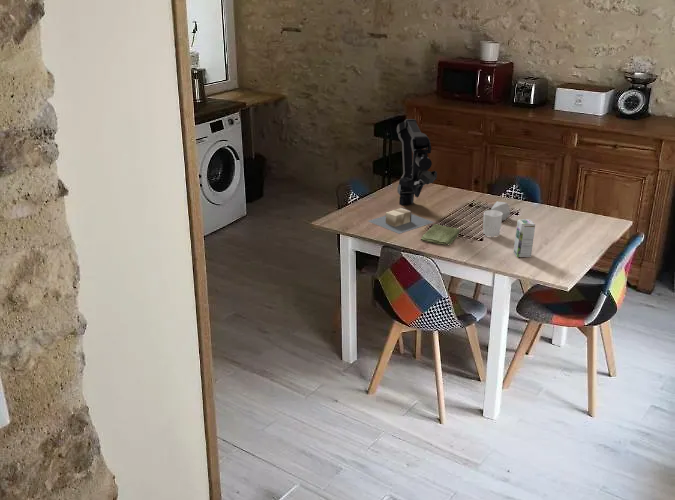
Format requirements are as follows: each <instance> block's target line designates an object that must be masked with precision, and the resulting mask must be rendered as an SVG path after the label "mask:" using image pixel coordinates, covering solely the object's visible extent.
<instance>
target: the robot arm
mask: <svg viewBox="0 0 675 500" xmlns="http://www.w3.org/2000/svg"><path fill="white" fill-rule="evenodd" d="M417 123H418V122H417V119H416V118H415V119H414V118H406V119H404V121H402V122H399V123H398V124H397V126H396V134H397V136H398V140H400V142H401V151H402V153H401V154H402V176H401V177H400V178H399V179H398V185H397V189H396V190H397V193H398V195H399V205H401V206H412V205H413V204H414V200H415V199H414V198H419V197H420V194H421V192H422V190H423V187H424V186H426V185H429V184H433V183H434V181H436V180H437V179H438V172H437V171H436V170H433V171H429V169H431V167H432V166H433V162H432V160H431V159H430V158H429V154H431V153H432V145H431V140H430V138H429V137H428V136H427V134H426V133H423V132H422V131H421V130H420V127H419V125H418V124H417Z"/></svg>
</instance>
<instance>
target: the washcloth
mask: <svg viewBox="0 0 675 500" xmlns="http://www.w3.org/2000/svg"><path fill="white" fill-rule="evenodd" d="M459 233H460V228H456V227H451V226H444V225H442V224H437V223H433V225H432V226H431V227H430V228H429V229H428V230H427V231H426V232H425V233H424V234H423V235H422V236H421V238H420V241H422V242H425V241H428V242H427V243H432V242H433V243H432V244H439V245H444V244H445V245H446V244H449V245H448V246H451V245H452V244H451V243H453V242H454V241H455V239H456V238H457V237H458V235H459ZM453 240H454V241H453ZM450 244H451V245H450ZM445 245H444V246H445ZM446 246H447V245H446Z"/></svg>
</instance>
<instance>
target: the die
mask: <svg viewBox="0 0 675 500" xmlns="http://www.w3.org/2000/svg"><path fill="white" fill-rule="evenodd" d="M490 210H496V211H500V212H502V213H503V215H502V221H503V220H505V221H506V220H507V219H508V217H509V216H510V213H511V208H510V206H509V203H508V202H504V201H497V200H496V201H495V202H494V204H493V205H492V207H491V209H490Z"/></svg>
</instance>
